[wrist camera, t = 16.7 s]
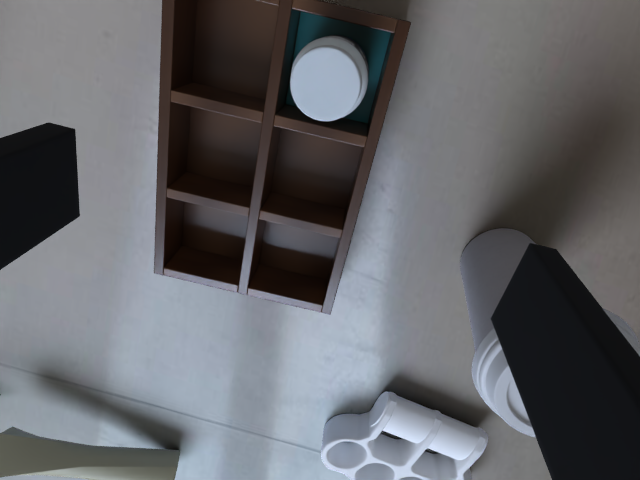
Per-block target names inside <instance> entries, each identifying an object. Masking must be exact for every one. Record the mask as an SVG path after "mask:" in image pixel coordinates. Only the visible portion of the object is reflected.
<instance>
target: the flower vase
mask: <svg viewBox="0 0 640 480" xmlns="http://www.w3.org/2000/svg"><path fill="white" fill-rule="evenodd" d="M0 395H1V394H0ZM179 455H180V450H166V449H146V448H127V447H107V446H91V445H85V444H79V443H73V442H67V441H60V440H54V439H49V438H44V437H39V436H36V435H33V434H30V433H28V432H25V431H22V430H20V429H17V428H15V427H11V428H9V429H7V430H6V431H4V432H2V433H0V477H5V476H16V475H45V476H58V477H71V478H82V479H89V480H174V479H175V475H176V471H177V467H178V461H179Z"/></svg>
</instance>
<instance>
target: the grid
mask: <svg viewBox="0 0 640 480" xmlns="http://www.w3.org/2000/svg"><path fill="white" fill-rule="evenodd" d="M410 25H411V22H408V21H404V20H400V19H395V18H391V17H387V16H383V15H379V14H374V13H370V12H366V11H362V10H358V9H353V8H349V7H345V6H341V5H337V4H332V3H328V2H324V1H320V0H162V29H161V62H160V94H159V127H158V159H157V192H156V225H155V257H154V273H156V274H160V275H165V276H169V277H174V278H178V279H182V280H186V281H190V282H195V283H199V284H203V285H207V286H212V287H216V288H220V289H224V290H229V291H233V292H238V293H241V294H245V295H249V296H254V297H258V298H262V299H266V300H270V301H275V302H279V303H283V304H287V305H292V306H296V307H300V308H304V309H309V310H313V311H317V312H321V313H325V314H329V315H330V314H331V311H332V307H333V303H334V300H335V296H336V293H337V289H338V285H339V282H340V278H341V274H342V271H343V267H344V264H345V260H346V256H347V253H348V249H349V245H350V242H351V238H352V235H353V231H354V227H355V224H356V220H357V217H358V213H359V209H360V206H361V202H362V198H363V195H364V191H365V188H366V184H367V180H368V177H369V173H370V169H371V166H372V162H373V159H374V155H375V151H376V148H377V144H378V141H379V137H380V133H381V130H382V126H383V122H384V119H385V115H386V112H387V108H388V104H389V101H390V97H391V93H392V90H393V86H394V83H395V79H396V75H397V72H398V68H399V65H400V61H401V57H402V54H403V50H404V46H405V43H406V39H407V36H408V32H409V28H410ZM330 35H343V36H347V37H349V38H351V39H352V40H354V41H355V42H356V43H358V44H359V46H360V47H361V48H362V50H363V51H364V53H365V55H366V58H367V61H368V68H369V74H368V85H367V90H366V93H365V95H364V98H363V99H362V101H361V103H360V104H359V105H358V107H357V108H356V109H355V110H354V111H352V112H351V113H350V114H348V115H346V116H345V117H342V118H339V119H337V120H333V121H318V120H315V119H312V118H310V117H308V116H307V115H305V114H304V113H303V112H302V111H301V110H300V109H299V108H298V106H297V105H296V103H295V101H294V99H293V97H292V93H291V88H290V79H291V70H292V66H293V62H294V60H295V58H296V57H297V55H298V54H299V52H300V51H301V50H302V49H303V48H304V47H305V46H306V45H307V44H309V43H310V42H312V41H314V40H316V39H319V38H323V37H326V36H330Z"/></svg>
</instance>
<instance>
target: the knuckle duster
mask: <svg viewBox="0 0 640 480" xmlns="http://www.w3.org/2000/svg"><path fill="white" fill-rule="evenodd" d="M382 430H383V431H385V432H388V433H390V434H393V435H395V436H398V437H400V438H402V439H393V438H390V437H388V436H385V435H383V434H380V433H381V432H382ZM344 441H350V442H348V443H347V442H344ZM487 443H488V434H487V433H486V432H485V431H484V430H483V429H482V428H479V427H477V428H475V427H473V426H471V425H468V424H466V423H463V422H461V421H458V420H456V419H453V418H451V417H449V416H446V415H444V414H441V413H440V411H437V410H431V409H429V408H426V407H424V406H422V405H419V404H417V403H414V402H412V401H409V400H407V399H404V398H402V397H399V396H397V395H396V394H395V393H393V392H387V391H386V392H384V393H382V394H381V395H380V396H379V398H378V399H377V400H376V402H375V404H374V406H373V408H372V409H371V410H370V411H369V412H366V413H363V414H360V415H358V414H341V415H337V416H335V417H333V418H331V419H330V420H329V421H328V422H327V423H326V425H325V427H324V431H323V439H322V448H321V458H322V461H323V463H324V465H325V466H326V467H327V468H328V469H329V470H334V471H337V472H340V473H342V474H344V475H346V476H347V477H349V478H350V479H351V480H472V477H471V472H470V468H469V467H470V466H471V465H472V464H473V463H474V462H475V461H476V460H477V459H478V458H479V457H480V456H481V455H482V453H483V452H484V450H485V448H486V445H487ZM427 448H428V449H431V450H433V451H436V452H438V453H437V454H431V453H428V452H426V451H425V450H426V449H427Z"/></svg>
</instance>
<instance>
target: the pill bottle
mask: <svg viewBox="0 0 640 480" xmlns="http://www.w3.org/2000/svg"><path fill="white" fill-rule="evenodd" d="M368 74H369V68H368V61H367V58H366V55H365V53H364V51H363V50H362V48H361V47H360V46H359V44H358V43H356V42H355V41H354V40H352V39H351V38H349V37H347V36H343V35H330V36H326V37H323V38H319V39H316V40H314V41H312V42H310V43H309V44H307V45H306V46H305V47H304V48H303V49H302V50H301V51H300V52H299V54H298V55H297V57H296V58H295V60H294V62H293V66H292V70H291V79H290V88H291V93H292V97H293V99H294V101H295V103H296V105H297V106H298V108H299V109H300V110H301V111H302V112H303V113H304V114H305V115H307V116H308V117H310V118H312V119H315V120H318V121H333V120H337V119H339V118H342V117H345V116H346V115H348V114H350V113H351V112H352V111H354V110H355V109H356V108H357V107H358V105H359V104H360V103H361V101H362V99H363V98H364V95H365V93H366V90H367V85H368Z"/></svg>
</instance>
